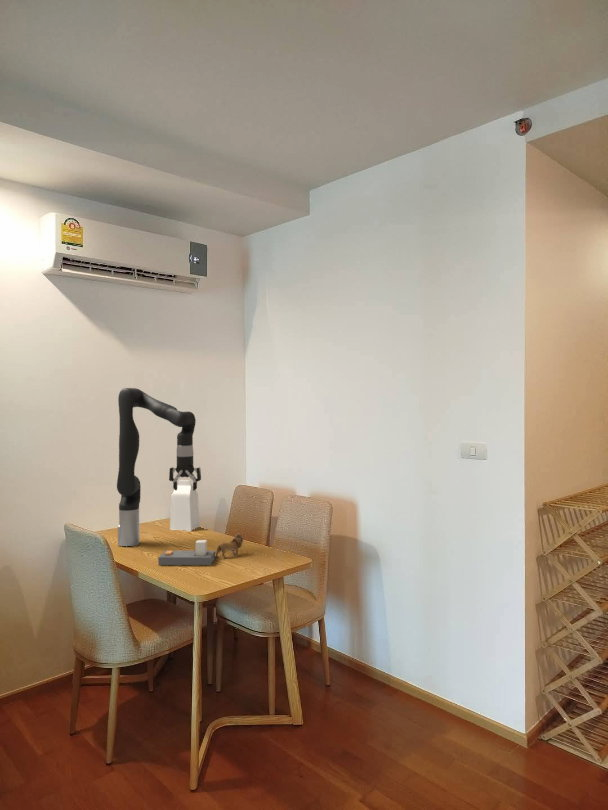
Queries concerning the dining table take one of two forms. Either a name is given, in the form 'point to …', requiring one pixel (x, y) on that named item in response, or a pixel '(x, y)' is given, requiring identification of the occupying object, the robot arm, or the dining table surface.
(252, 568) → the dining table surface
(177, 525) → the milk
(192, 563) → the grey board with slot
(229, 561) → the dining table surface
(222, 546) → the lion figurine
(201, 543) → the white rectangular block
